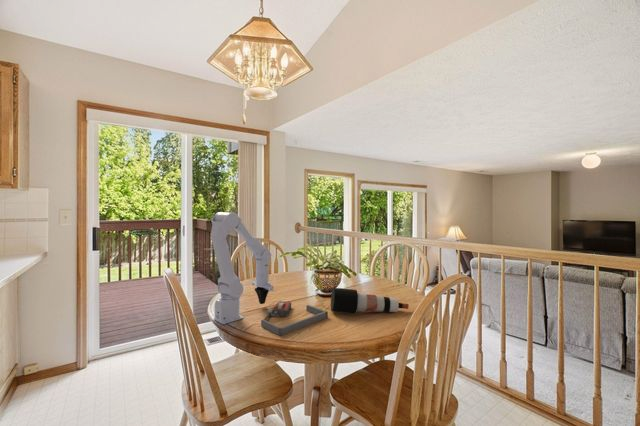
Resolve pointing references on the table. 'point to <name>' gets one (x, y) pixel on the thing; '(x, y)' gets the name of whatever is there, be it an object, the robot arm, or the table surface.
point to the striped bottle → (362, 302)
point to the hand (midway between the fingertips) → (262, 303)
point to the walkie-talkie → (279, 309)
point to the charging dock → (297, 325)
